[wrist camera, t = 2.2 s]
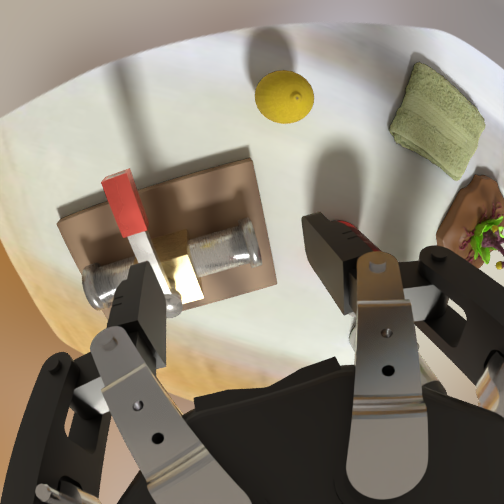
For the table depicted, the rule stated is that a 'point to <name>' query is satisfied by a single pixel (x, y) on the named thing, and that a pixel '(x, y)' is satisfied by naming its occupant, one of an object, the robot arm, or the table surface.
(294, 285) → the table surface
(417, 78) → the washcloth
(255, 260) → the valve body
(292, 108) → the lemon
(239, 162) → the walnut board
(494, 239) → the plant
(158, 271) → the valve lever
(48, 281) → the table surface
